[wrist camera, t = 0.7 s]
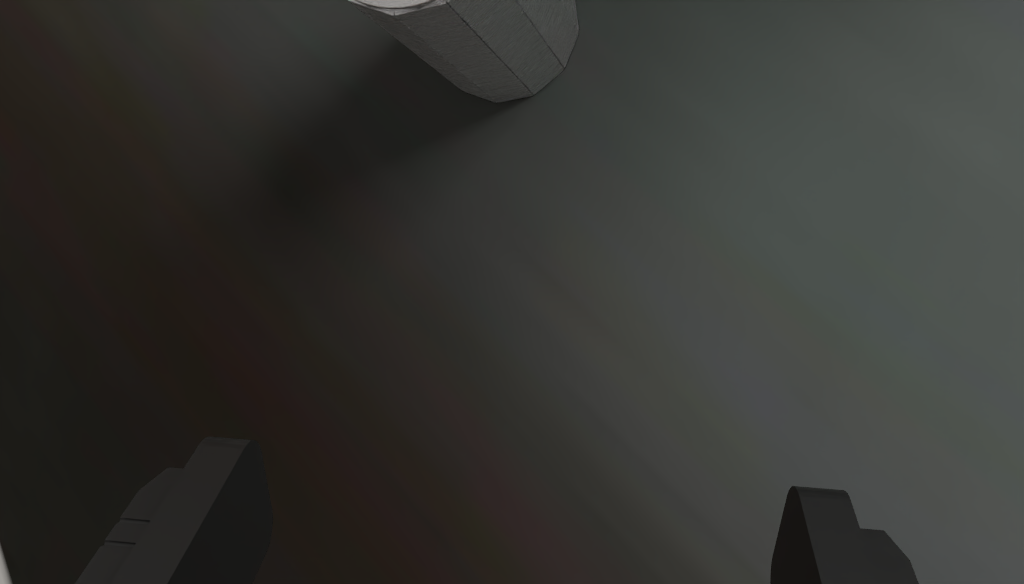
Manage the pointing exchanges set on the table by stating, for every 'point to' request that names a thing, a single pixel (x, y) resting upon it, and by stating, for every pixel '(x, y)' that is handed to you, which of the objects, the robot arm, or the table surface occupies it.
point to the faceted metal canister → (484, 40)
